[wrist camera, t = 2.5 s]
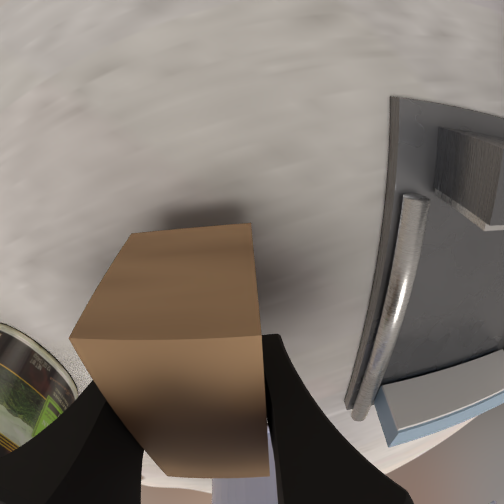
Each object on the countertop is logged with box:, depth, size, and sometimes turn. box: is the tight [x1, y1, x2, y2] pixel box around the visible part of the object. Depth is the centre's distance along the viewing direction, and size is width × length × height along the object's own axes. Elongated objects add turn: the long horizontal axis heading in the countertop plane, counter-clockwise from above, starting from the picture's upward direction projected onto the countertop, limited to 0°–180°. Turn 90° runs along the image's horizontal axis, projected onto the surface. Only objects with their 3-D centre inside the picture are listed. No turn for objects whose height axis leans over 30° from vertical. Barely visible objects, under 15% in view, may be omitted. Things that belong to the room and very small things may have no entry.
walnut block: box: [69, 223, 270, 478], centre depth 10 cm, size 8×4×5 cm, turn 4°
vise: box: [344, 97, 504, 421], centre depth 13 cm, size 20×16×5 cm
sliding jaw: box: [374, 349, 504, 447], centre depth 17 cm, size 2×12×4 cm, turn 94°
